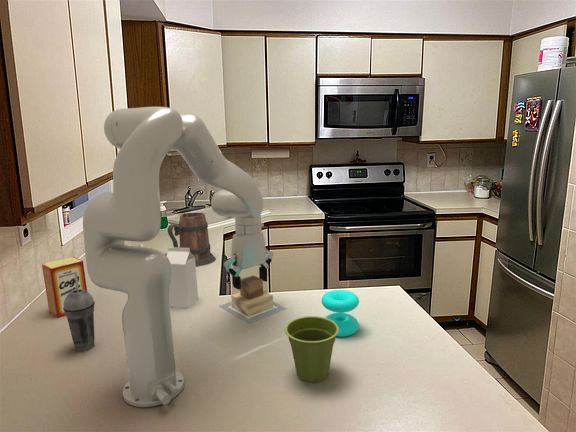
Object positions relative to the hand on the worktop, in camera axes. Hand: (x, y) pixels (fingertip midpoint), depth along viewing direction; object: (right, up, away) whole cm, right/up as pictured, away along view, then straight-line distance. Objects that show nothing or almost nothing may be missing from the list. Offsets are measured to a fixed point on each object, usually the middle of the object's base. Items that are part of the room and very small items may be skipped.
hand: (250, 284), depth 127 cm
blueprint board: (0, -8, +2) cm, 8 cm away
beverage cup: (-42, -14, -17) cm, 47 cm away
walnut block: (0, -3, +1) cm, 4 cm away
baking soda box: (-57, -9, +6) cm, 58 cm away
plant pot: (+17, -15, -32) cm, 39 cm away
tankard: (-30, +1, +49) cm, 58 cm away
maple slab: (0, -7, +2) cm, 8 cm away
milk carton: (-22, -8, +7) cm, 24 cm away
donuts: (+26, -11, -12) cm, 30 cm away
